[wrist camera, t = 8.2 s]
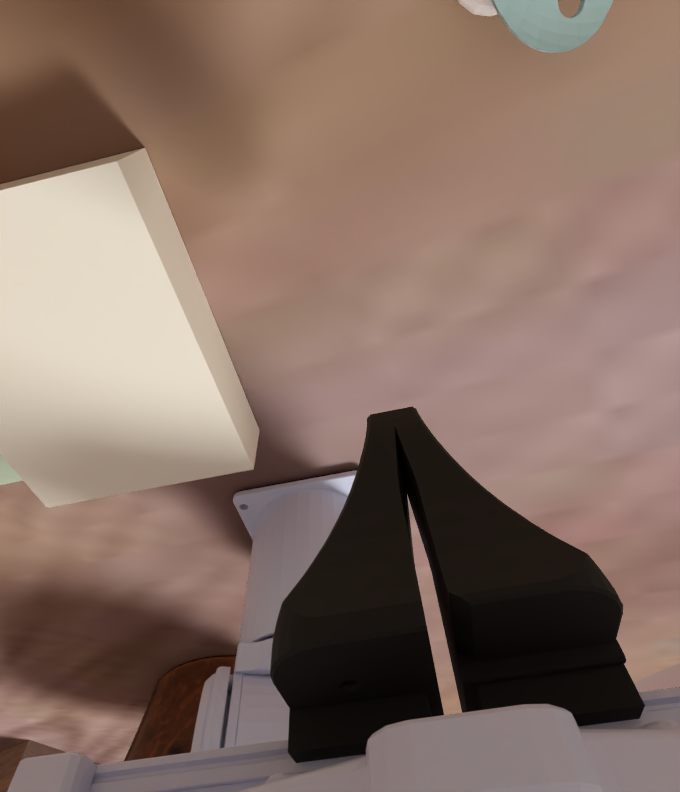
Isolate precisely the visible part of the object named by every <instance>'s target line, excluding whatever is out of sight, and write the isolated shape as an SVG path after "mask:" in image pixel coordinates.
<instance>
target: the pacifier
mask: <svg viewBox="0 0 680 792" xmlns="http://www.w3.org/2000/svg"><path fill="white" fill-rule="evenodd" d="M458 2H459V3H460V4H461V5H462V6H464V7H465V8H466V9H467V10H469V11H470V12H471V13H472V14H476V15H483V16H489V17H490V16H493V15H496V14H498V15H499V16H500V18H501V20H502V21H503V23H504V24H505V26H506V27H507V28H508V29H509V30H510V31H511V33H512V34H513V35H514V36H515V37H516V38H517V39H519V40H520V41H521V42H523V43H524V44H525V45H527V46H529V47H531V48H533V49H535V50H538V51H542V52H547V53H557V52H566V51H570V50H573V49H575V48H577V47H579V46H580V45H582V44H584V43H585V42H586V41H587V40H588V39H589V38H590V37H591V36H592V35H593V34H594V33H595V32H596V31H597V30H598V29H599V27H600V26H601V24H602V23H603V21H604V19H605V17H606V15H607V13H608V11H609V9H610V7H611V4H612V2H613V0H580V7H579V9H578V11H577V13H576V14H575V15H574V16H573V17H571V18H567V17H565V16H563V15H562V13H561V12H560V10H559V7H558V0H458Z"/></svg>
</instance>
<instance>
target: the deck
mask: <svg viewBox="0 0 680 792" xmlns="http://www.w3.org/2000/svg"><path fill="white" fill-rule="evenodd" d="M259 431H260V430H259V428H258V425H257V423H256V420H255V418H254V415H253V413H252V410H251V408H250V405H249V403H248V400H247V398H246V396H245V393H244V391H243V388H242V386H241V383H240V381H239V378H238V376H237V373H236V371H235V368H234V366H233V364H232V361H231V359H230V356H229V354H228V351H227V349H226V346H225V344H224V341H223V339H222V336H221V334H220V331H219V329H218V327H217V324H216V322H215V319H214V317H213V314H212V312H211V309H210V307H209V304H208V302H207V299H206V297H205V295H204V292H203V290H202V287H201V285H200V282H199V280H198V277H197V275H196V272H195V270H194V267H193V265H192V262H191V260H190V258H189V255H188V253H187V250H186V248H185V245H184V243H183V240H182V238H181V235H180V233H179V230H178V228H177V226H176V223H175V221H174V218H173V216H172V213H171V211H170V208H169V206H168V203H167V201H166V198H165V196H164V193H163V191H162V189H161V186H160V184H159V181H158V179H157V176H156V174H155V171H154V169H153V166H152V164H151V161H150V159H149V156H148V154H147V152H146V149H145V148H142V149H138V150H134V151H130V152H126V153H122V154H118V155H114V156H110V157H106V158H102V159H98V160H94V161H90V162H86V163H82V164H78V165H74V166H70V167H66V168H62V169H59V170H55V171H51V172H47V173H43V174H39V175H35V176H31V177H27V178H23V179H19V180H15V181H11V182H7V183H3V184H0V454H1V455H2V457H3V458H4V459H5V460H6V461H7V462H8V463H9V465H10V466H11V467H12V468H13V469H14V470H15V472H16V473H17V474H18V475H19V476H20V477H21V479H22V480H23V481H24V482H25V483H26V484H27V485H28V487H29V488H30V489H31V490H32V491H33V492H34V494H35V495H36V496H37V497H38V498H39V499H40V501H41V502H42V503H43V504H44V505H45V506H46V507H47V508H49V507H54V506H60V505H65V504H70V503H76V502H81V501H86V500H92V499H97V498H103V497H108V496H113V495H119V494H124V493H129V492H135V491H140V490H146V489H151V488H156V487H162V486H167V485H172V484H178V483H183V482H188V481H194V480H199V479H205V478H210V477H215V476H221V475H226V474H231V473H237V472H242V471H248V470H253V469H254V464H255V458H256V451H257V444H258V438H259Z"/></svg>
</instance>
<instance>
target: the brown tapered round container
mask: <svg viewBox="0 0 680 792" xmlns="http://www.w3.org/2000/svg"><path fill="white" fill-rule="evenodd" d="M235 661H236V657H231V656H230V657H212V658H205V659H200V660H195V661H192V662H189V663H186V664H183V665H181V666H179V667H176V668H175V669H173V670H171V671H170V672H169V673H167V674H166V675H165V676H164V677H163V678H162V679H160V680H159V681H158V682H157V683H156V685H155V687H154V689H153V692H152V695H151V698H150V701H149V704H148V706H147V709H146V711H145V714H144V716H143V718H142V721H141V723H140V726H139V728H138V731H137V733H136V735H135V737H134V739H133V742H132V744H131V746H130V749H129V751H128V753H127V755H126V758H125V760H124V761H131V760H139V759H146V758H153V757H161V756H168V755H176V754H183V753H191V748H192V742H193V736H194V731H195V725H196V720H197V715H198V710H199V705H200V700H201V695H202V691H203V687H204V684H205V681H206V680H207V679H208V678H210V677H211V676H212V675H213V674H215V673H216V670H217V668H219V667H221V666H223V667H231V669H230V675H234V668H235Z"/></svg>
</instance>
